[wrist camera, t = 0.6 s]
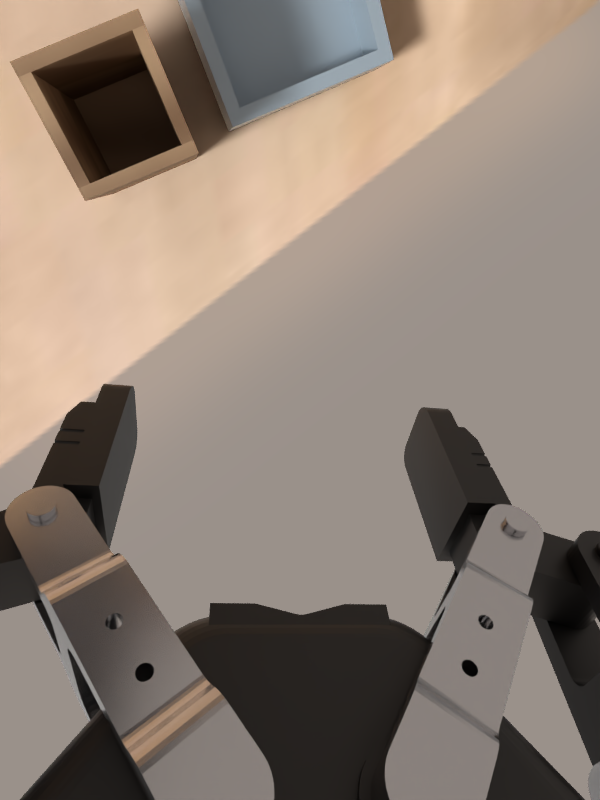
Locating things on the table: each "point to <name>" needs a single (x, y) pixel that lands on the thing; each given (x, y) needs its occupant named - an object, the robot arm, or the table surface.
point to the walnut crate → (108, 106)
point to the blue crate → (283, 50)
